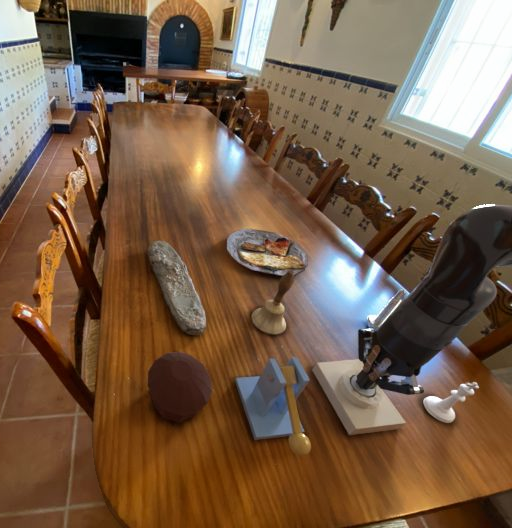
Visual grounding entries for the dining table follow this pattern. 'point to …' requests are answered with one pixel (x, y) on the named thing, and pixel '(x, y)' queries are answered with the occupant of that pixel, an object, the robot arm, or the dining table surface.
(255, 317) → the hand bell
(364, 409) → the dial knob panel
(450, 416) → the chess piece
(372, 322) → the screw
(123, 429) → the dining table surface
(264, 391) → the lever bracket
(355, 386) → the grey push button
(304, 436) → the flush lever
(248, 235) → the food plate
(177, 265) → the long grey stone
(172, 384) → the brown rounded faceted lump
